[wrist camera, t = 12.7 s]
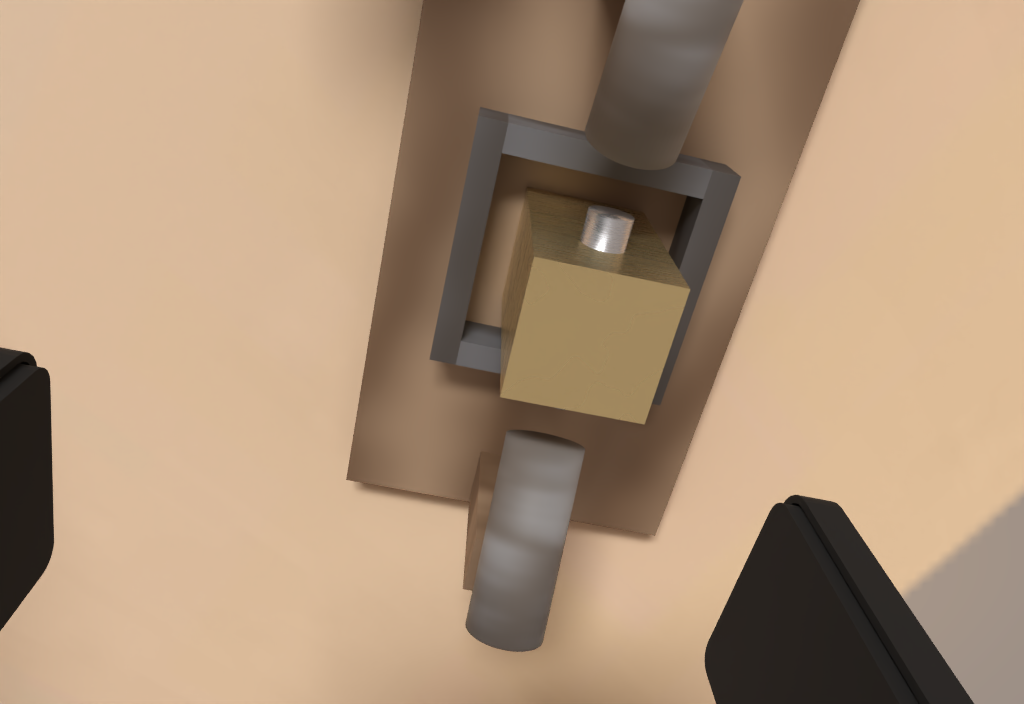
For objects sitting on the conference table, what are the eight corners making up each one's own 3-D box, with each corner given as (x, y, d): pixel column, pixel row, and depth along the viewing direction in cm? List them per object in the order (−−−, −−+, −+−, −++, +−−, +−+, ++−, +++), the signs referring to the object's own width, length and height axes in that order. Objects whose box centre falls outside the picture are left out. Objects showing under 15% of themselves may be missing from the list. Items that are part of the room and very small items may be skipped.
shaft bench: (351, 465, 35) (295, 637, 25) (454, -165, 24) (422, -256, 15) (647, 519, 36) (696, 701, 27) (862, -55, 26) (1059, -79, 17)
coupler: (533, 159, 27) (542, 221, 20) (651, 185, 28) (701, 254, 21) (496, 320, 30) (493, 425, 23) (604, 342, 30) (635, 452, 23)
